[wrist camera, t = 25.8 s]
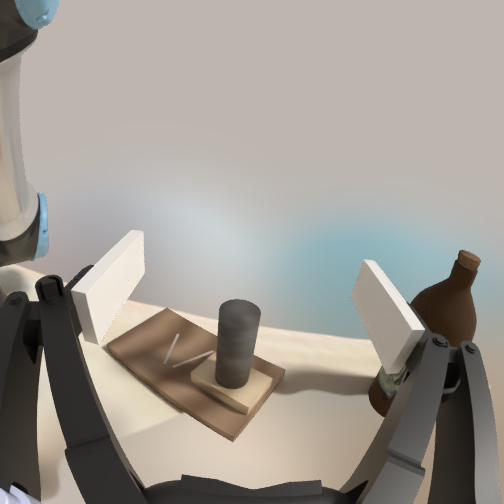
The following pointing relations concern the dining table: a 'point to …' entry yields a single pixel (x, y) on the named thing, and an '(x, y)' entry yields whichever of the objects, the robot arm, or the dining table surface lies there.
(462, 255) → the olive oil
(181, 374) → the walnut board
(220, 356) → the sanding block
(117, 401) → the dining table surface
